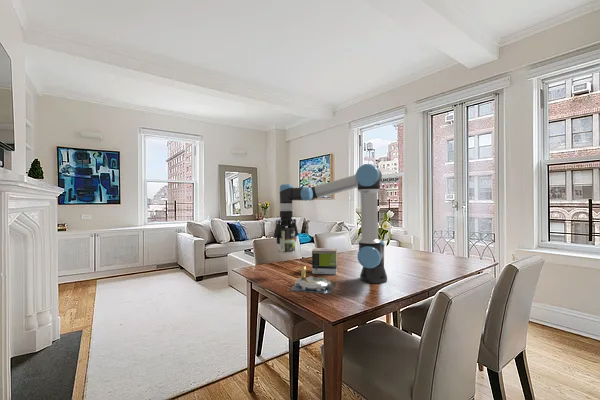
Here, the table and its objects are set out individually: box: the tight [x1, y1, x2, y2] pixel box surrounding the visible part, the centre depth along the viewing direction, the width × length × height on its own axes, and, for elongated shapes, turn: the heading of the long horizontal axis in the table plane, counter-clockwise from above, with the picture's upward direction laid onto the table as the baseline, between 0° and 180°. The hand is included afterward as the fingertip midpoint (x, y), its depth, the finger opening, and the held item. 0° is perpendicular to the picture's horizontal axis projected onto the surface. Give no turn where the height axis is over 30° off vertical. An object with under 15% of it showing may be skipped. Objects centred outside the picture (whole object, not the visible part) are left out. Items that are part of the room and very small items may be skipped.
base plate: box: [289, 280, 338, 295], centre depth 157 cm, size 21×21×1 cm
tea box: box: [311, 247, 338, 275], centre depth 186 cm, size 15×10×15 cm
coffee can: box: [277, 226, 296, 254], centre depth 174 cm, size 10×10×14 cm
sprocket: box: [294, 265, 335, 291], centre depth 157 cm, size 21×21×9 cm
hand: (286, 248), depth 174 cm, fingers closed on coffee can, 10 cm apart
